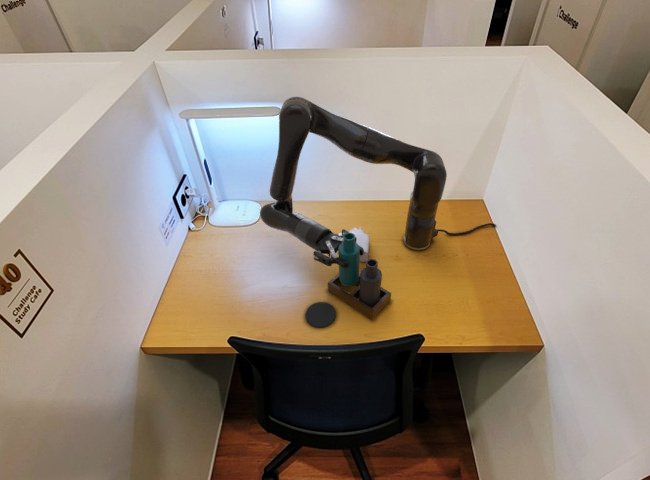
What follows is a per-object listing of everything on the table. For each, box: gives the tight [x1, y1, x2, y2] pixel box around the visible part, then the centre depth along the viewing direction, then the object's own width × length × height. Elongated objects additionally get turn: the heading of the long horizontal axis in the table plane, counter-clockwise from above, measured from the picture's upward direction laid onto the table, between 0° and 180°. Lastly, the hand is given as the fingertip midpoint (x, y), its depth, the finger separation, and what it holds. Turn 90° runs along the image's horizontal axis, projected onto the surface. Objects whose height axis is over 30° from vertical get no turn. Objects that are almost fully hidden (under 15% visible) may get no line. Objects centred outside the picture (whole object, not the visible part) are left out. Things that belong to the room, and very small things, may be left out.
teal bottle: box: [337, 233, 361, 287], centre depth 106 cm, size 6×6×18 cm
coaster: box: [305, 301, 337, 329], centre depth 109 cm, size 9×9×1 cm
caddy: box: [327, 272, 392, 321], centre depth 113 cm, size 9×17×4 cm, turn 49°
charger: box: [342, 226, 370, 263], centre depth 128 cm, size 5×9×15 cm
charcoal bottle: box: [358, 258, 383, 308], centre depth 106 cm, size 6×6×18 cm
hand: (355, 259), depth 104 cm, fingers closed on teal bottle, 6 cm apart
